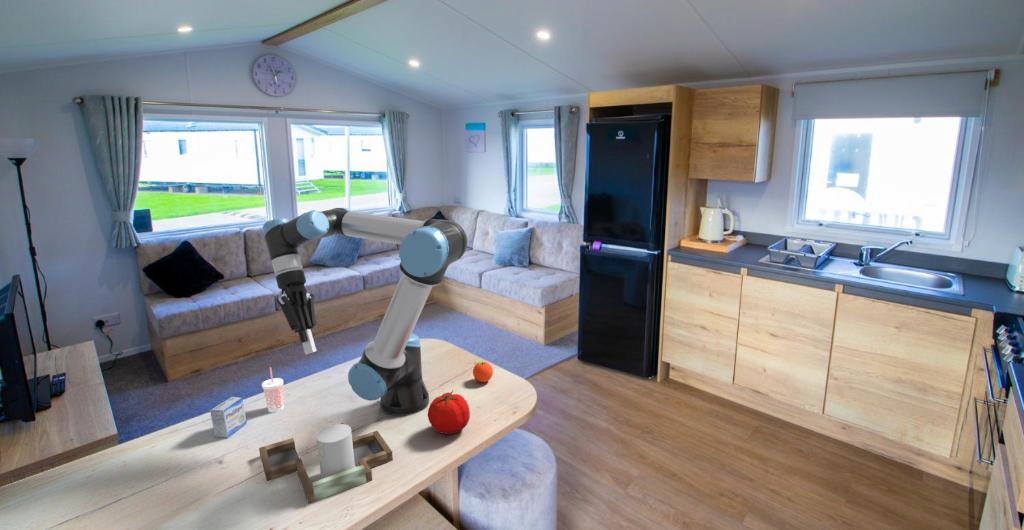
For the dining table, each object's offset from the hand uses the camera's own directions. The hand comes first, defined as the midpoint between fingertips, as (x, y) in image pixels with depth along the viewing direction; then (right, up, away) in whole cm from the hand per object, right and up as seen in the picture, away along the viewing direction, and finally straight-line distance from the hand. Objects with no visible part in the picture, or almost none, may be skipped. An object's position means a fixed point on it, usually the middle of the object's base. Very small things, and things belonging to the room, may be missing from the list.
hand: (310, 352), depth 142 cm
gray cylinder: (+13, -28, -15) cm, 35 cm away
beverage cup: (-18, -21, +18) cm, 33 cm away
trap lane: (+8, -27, -10) cm, 30 cm away
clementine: (+46, -16, +34) cm, 59 cm away
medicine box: (-26, -24, +6) cm, 36 cm away
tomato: (+38, -23, +4) cm, 45 cm away
